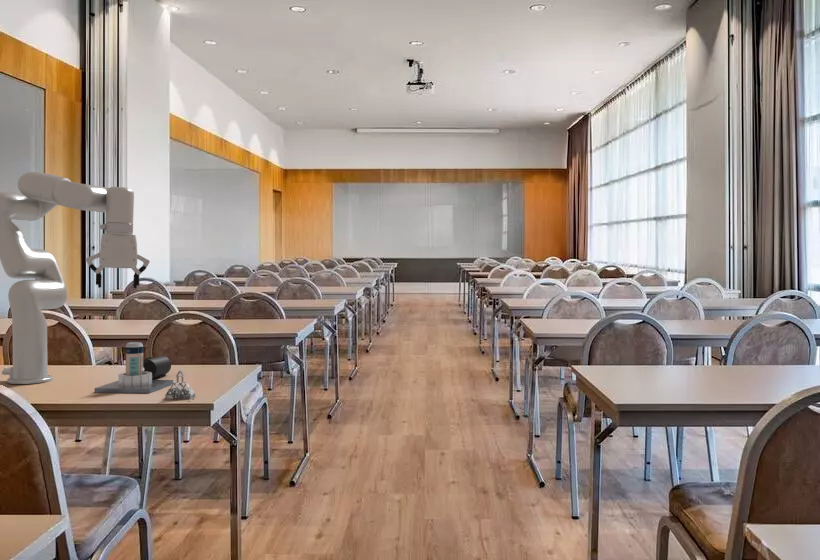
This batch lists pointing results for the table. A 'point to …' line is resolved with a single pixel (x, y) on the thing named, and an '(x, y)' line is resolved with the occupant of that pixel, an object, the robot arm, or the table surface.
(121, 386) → the grey square plate
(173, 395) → the house of cards
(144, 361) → the end cap
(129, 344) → the beer can
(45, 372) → the robot arm
